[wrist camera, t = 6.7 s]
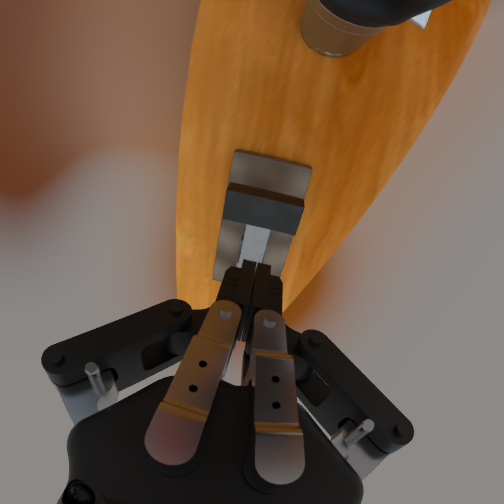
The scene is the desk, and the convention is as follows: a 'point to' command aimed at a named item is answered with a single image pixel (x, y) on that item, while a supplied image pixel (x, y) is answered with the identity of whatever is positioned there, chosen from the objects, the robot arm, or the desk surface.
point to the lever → (260, 216)
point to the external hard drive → (421, 19)
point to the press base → (269, 178)
